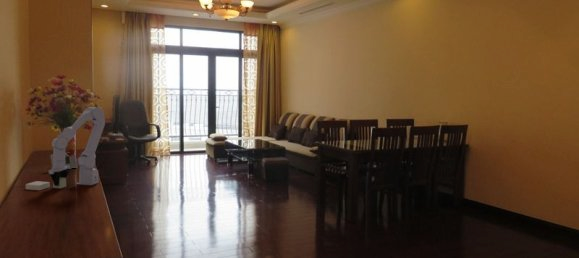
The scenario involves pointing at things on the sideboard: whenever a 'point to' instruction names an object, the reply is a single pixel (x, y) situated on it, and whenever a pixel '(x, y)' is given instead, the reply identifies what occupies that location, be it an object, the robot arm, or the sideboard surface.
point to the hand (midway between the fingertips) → (59, 184)
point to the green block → (61, 183)
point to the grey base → (37, 185)
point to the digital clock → (67, 161)
